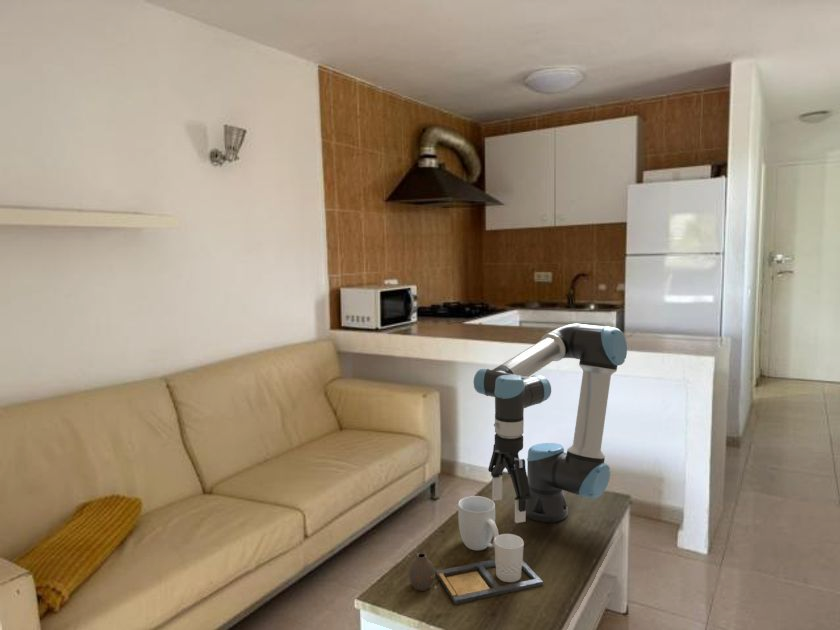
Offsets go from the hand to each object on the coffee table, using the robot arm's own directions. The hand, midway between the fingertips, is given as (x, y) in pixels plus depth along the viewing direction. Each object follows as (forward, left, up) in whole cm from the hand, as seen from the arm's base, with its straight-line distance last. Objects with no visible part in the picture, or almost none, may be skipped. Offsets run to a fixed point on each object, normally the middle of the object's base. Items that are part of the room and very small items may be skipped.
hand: (508, 510), depth 154 cm
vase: (+24, -3, -19) cm, 30 cm away
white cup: (0, 0, -19) cm, 19 cm away
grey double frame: (+6, 0, -19) cm, 20 cm away
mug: (+1, -16, -19) cm, 25 cm away
